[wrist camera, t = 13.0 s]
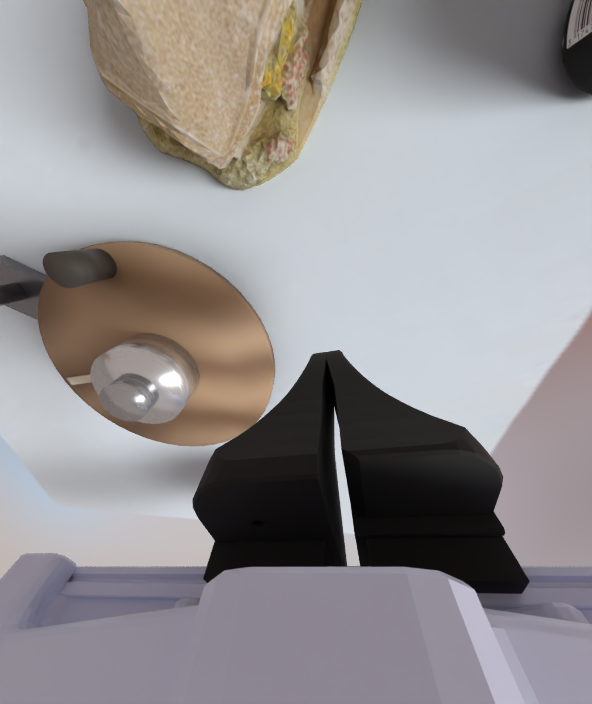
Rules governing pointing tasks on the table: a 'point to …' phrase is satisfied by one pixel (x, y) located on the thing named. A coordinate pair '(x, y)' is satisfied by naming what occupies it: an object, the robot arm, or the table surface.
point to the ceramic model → (223, 75)
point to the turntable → (159, 332)
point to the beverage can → (579, 44)
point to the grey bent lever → (20, 286)
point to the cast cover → (145, 379)
